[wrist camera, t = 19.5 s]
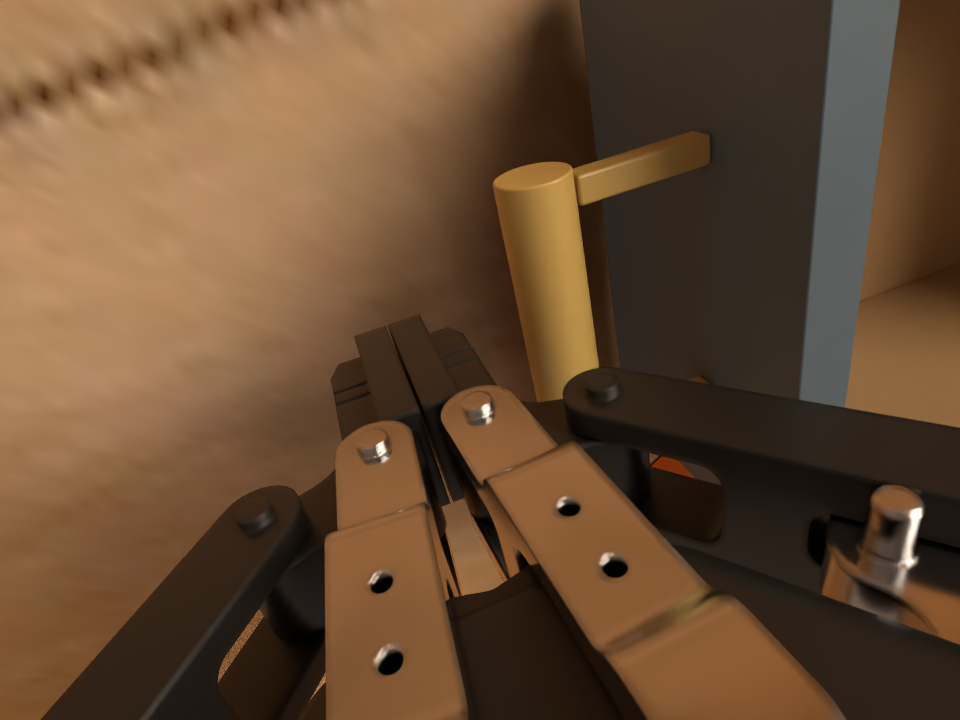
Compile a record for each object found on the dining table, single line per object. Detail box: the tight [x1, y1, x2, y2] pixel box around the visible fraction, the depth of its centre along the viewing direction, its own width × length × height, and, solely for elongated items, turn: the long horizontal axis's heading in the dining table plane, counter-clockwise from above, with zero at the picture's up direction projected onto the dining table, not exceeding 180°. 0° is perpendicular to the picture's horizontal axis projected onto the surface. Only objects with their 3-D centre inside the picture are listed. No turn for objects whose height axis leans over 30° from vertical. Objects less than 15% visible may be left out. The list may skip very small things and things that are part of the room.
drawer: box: [493, 0, 960, 485], centre depth 15 cm, size 21×13×8 cm, turn 103°
